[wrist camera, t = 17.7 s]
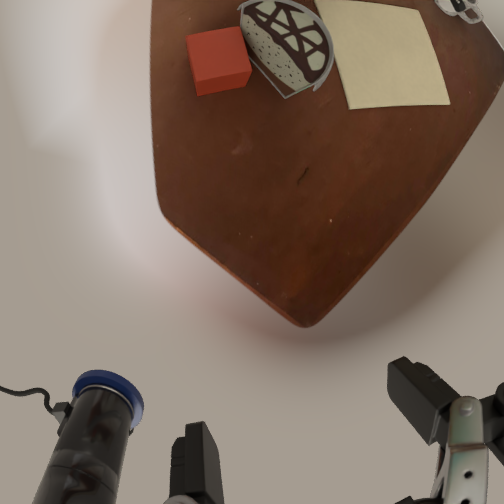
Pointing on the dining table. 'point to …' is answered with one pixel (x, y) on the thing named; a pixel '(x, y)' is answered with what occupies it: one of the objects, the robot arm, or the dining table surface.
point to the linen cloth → (383, 54)
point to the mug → (460, 8)
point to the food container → (287, 44)
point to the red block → (218, 60)
